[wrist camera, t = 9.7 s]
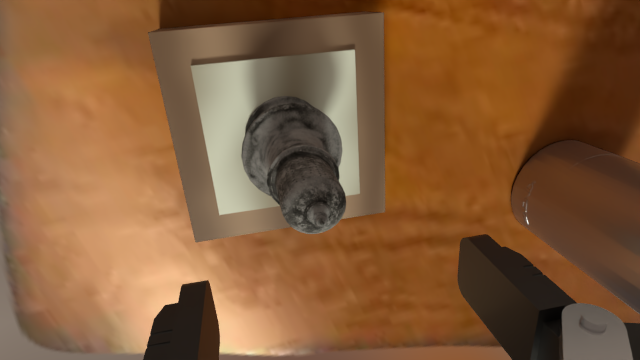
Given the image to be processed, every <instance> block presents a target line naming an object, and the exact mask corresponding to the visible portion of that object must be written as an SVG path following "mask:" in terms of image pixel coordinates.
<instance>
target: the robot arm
mask: <svg viewBox="0 0 640 360" xmlns="http://www.w3.org/2000/svg"><path fill="white" fill-rule="evenodd" d="M511 205H512V210H513V213H514V215H515V217H516V219H517V220H518V221H519V222H520V223H521V224H522V225H523V226H524V227H526V228H527V229H528V230H530V231H531V232H532V233H534V234H535V235H536V236H537V237H539V238H540V239H541V240H543V241H544V242H545V243H547V244H548V245H549V246H550V247H552V248H553V249H554V250H556V251H557V252H558V253H560V254H561V255H562V256H564V257H565V258H566V259H568V260H569V261H570V262H571V263H573V264H574V265H575V266H577V267H578V268H579V269H581V270H582V271H583V272H585V273H586V274H587V275H589V276H590V277H591V278H593V279H594V280H595V281H597V282H598V283H599V284H601V285H602V286H603V287H605V288H606V289H607V290H608V291H610V292H611V293H612V294H614V295H615V296H616V297H618V298H619V299H620V300H622V301H623V302H624V303H626V304H627V305H628V306H630V307H631V308H632V309H634V310H635V311H636V312H638V313H639V314H640V164H639V163H637V162H634V161H632V160H629V159H627V158H624V157H621V156H619V155H616V154H614V153H611V152H609V151H606V150H602V149H599V148H596V147H594V146H591V145H589V144H586V143H583V142H581V141H576V140H566V141H560V142H557V143H554V144H551V145H549V146H547V147H545V148H544V149H542V150H540V151H539V152H538V153H537V154H535V155H534V156H533V157H532V158H531V159H530V160H529V161H528V162H527V163H526V164H525V165H524V167H523V168H522V170H521V171H520V173H519V174H518V176H517V179H516V181H515V183H514V186H513V190H512V194H511ZM458 285H459V288H460V291H461V293H462V295H463V297H464V298H465V299H466V301H467V302H468V303H469V305H470V306H471V307H472V308H473V310H474V311H475V312H476V314H477V315H478V316H479V317H480V319H481V320H482V321H483V323H484V324H485V325H486V326H487V328H488V329H489V330H490V332H491V333H492V334H493V335H494V337H495V338H496V339H497V341H498V342H499V343H500V344H501V346H502V347H503V348H504V350H505V351H506V352H507V353H508V355H509V356H510V357H511V359H512V360H640V324H638V323H623V322H622V321H621V320H620V319H619V318H618V317H617V316H616V315H614V314H613V313H611V312H609V311H607V310H605V309H603V308H601V307H598V306H595V305H591V304H583V303H576V302H575V301H574V300H573V299H572V298H571V297H569V296H568V295H567V294H566V293H565V292H564V291H563V290H561V289H560V288H559V287H558V286H557V285H556V284H555V283H553V282H552V281H551V280H550V279H549V278H548V277H547V276H545V275H543V274H542V272H541V271H540V270H539V269H537V268H536V267H533V264H532V263H531V262H529V261H528V260H527V259H526V258H525V257H524V256H523V255H521V254H519V253H517V252H515V251H513V250H511V249H509V248H507V247H501V246H500V245H499V244H497V243H496V242H495V241H494V240H493V239H492V238H491V237H490V236H489V235H486V234H484V235H478V236H472V237H466V238H463V239H462V240H461V242H460V252H459V266H458ZM150 334H151V336H150V337H149V340H148V344H147V349H146V352H145V355H144V359H143V360H219V346H220V334H219V324H218V319H217V314H216V310H215V305H214V301H213V296H212V292H211V287H210V283H209V281H208V280H207V281H201V282H195V283H189V284H183V285H182V287H181V291H180V296H179V301H178V303H175V304H169V305H165V306H164V307H163V309H162V310H161V311H160V312H159V314H158V315H157V316H156V317H155V319H154V322H153V325H152V329H151V333H150Z"/></svg>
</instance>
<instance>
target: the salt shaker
mask: <svg viewBox="0 0 640 360" xmlns="http://www.w3.org/2000/svg"><path fill="white" fill-rule="evenodd" d="M241 157H242V162H243V167H244V170H245V172H246V174H247V176H248V178H249V179H250V181H251V182H252V183H253V184H254V185H255V186H256V187H257V188H258V189H259V190H260V191H262V192H264V193H266V194H267V195H269V196H272V198H273V199H274V200H275V201H276V202H277V203H278V204H279V205H280V207H281V211H282V214H283V216H284V218H285V220H286V221H287V223H288V224H289V225H290V226H291V227H292V228H294V229H296V230H297V231H299V232H302V233H306V234H317V233H321V232H324V231H327V230H329V229H331V228H332V227H333V226H335V225H336V224H337V223H338V222H339V221H340V220H341V218H342V216H343V214H344V212H345V208H346V197H345V192H344V190H343V188H342V186H341V184H340V182H339V178H340V176H339V165H340V163H341V157H342V141H341V137H340V134H339V132H338V129H337V127H336V126H335V124H334V123H333V122H332V121H331V119H330V118H329V117H328V116H327V115H325V114H324V113H323V112H321V111H320V110H319V109H317V108H314V107H313V106H312V105H311V104H309V103H308V102H306V101H305V100H302V99H300V98H297V97H291V96H281V97H275V98H272V99H270V100H268V101H265V102H263V103H262V104H261V105H260V106H259V107H257V108H256V109H255V110H254V112H253V113H252V115H251V116H250V117H249V120H248V123H247V125H246V129H245V137H244V140H243V143H242V154H241Z"/></svg>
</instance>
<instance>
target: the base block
mask: <svg viewBox="0 0 640 360" xmlns="http://www.w3.org/2000/svg"><path fill="white" fill-rule="evenodd" d="M148 35H149V39H150V44H151V48H152V52H153V57H154V61H155V66H156V70H157V75H158V79H159V83H160V88H161V92H162V97H163V101H164V105H165V110H166V114H167V119H168V123H169V127H170V132H171V136H172V141H173V145H174V149H175V154H176V158H177V163H178V167H179V171H180V176H181V180H182V185H183V189H184V194H185V198H186V202H187V207H188V211H189V216H190V220H191V224H192V229H193V233H194V238H195V242H201V241H207V240H213V239H220V238H226V237H232V236H238V235H245V234H251V233H257V232H263V231H270V230H276V229H282V228H288V227H291V226H290V225H289V224H288V223H287V221H286V220H285V218H284V216H283V214H282V211H281V207H280V205H279V204H278V203H277V202H276V201H275V200H274V199H273V198H272V196H269V195H267V194H266V193H264V192H262V191H260V190H259V189H258V188H257V187H256V186H255V185H254V184H253V183H252V182H251V181H250V179H249V178H248V176H247V174H246V172H245V170H244V167H243V162H242V157H241V154H242V143H243V140H244V137H245V129H246V125H247V123H248V120H249V117H250V116H251V115H252V113H253V112H254V110H255V109H256V108H257V107H259V106H260V105H261V104H262V103H263V102H265V101H268V100H270V99H272V98H275V97H281V96H291V97H297V98H300V99H302V100H305V101H306V102H308V103H309V104H311V105H312V106H313V107H314V108H317V109H319V110H320V111H321V112H323V113H324V114H325V115H327V116H328V117H329V118H330V119H331V121H332V122H333V123H334V124H335V126H336V127H337V129H338V132H339V134H340V137H341V141H342V157H341V163H340V165H339V176H340V178H339V182H340V184H341V186H342V188H343V190H344V192H345V197H346V208H345V212H344V214H343V216H342V218H341V219H344V218H351V217H357V216H363V215H369V214H376V213H382V212H385V125H384V13H381V12H355V13H343V14H331V15H319V16H307V17H295V18H283V19H271V20H259V21H247V22H235V23H223V24H211V25H199V26H187V27H175V28H163V29H157V30H154V31H151V32H148Z"/></svg>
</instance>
